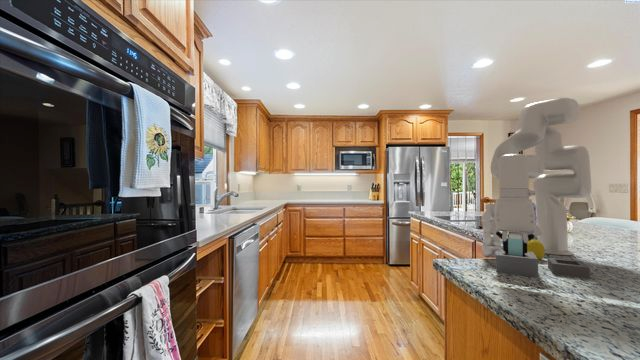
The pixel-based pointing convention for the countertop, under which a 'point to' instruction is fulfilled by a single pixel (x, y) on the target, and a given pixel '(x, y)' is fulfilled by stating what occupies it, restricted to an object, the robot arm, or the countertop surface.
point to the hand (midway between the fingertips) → (515, 253)
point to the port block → (516, 263)
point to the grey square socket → (568, 268)
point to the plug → (515, 244)
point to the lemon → (536, 248)
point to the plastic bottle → (489, 238)
